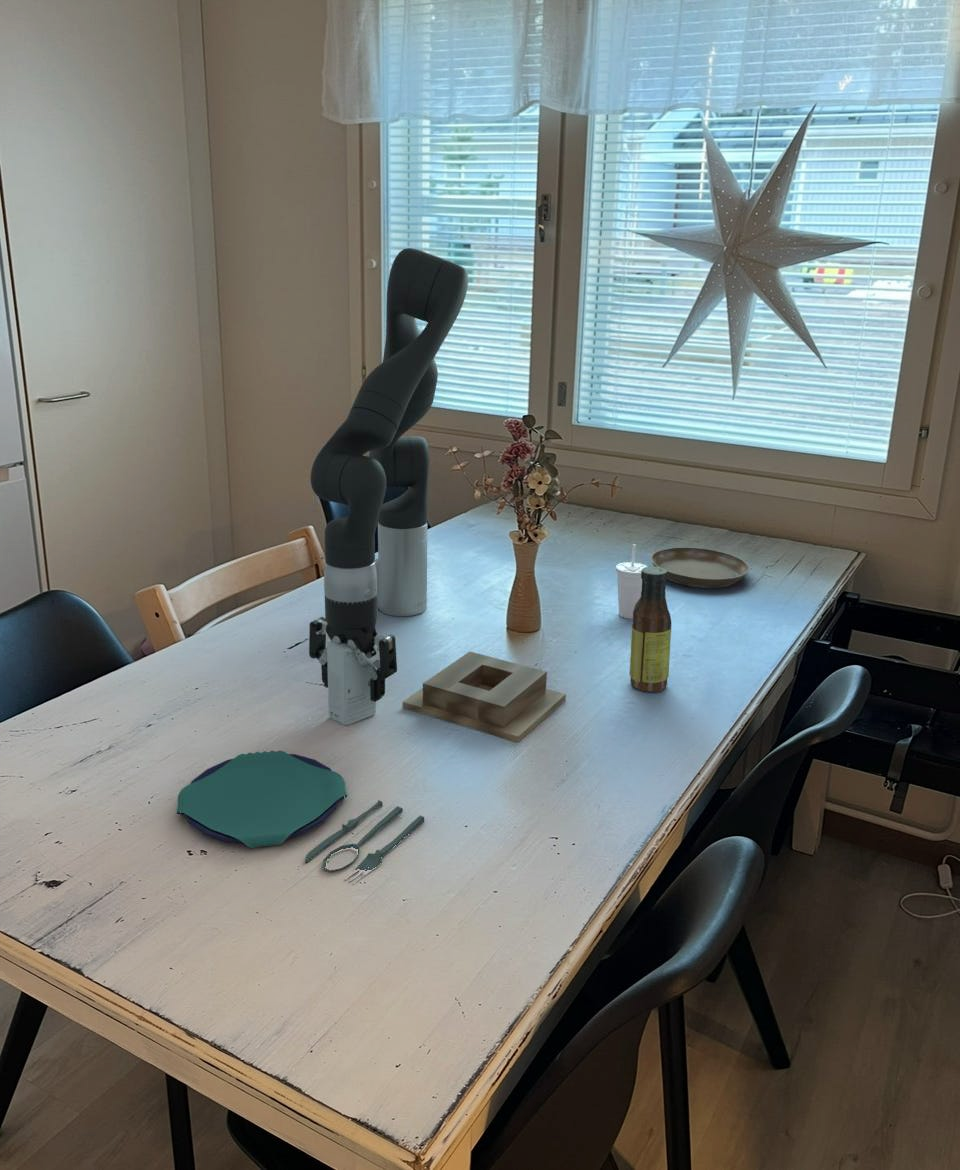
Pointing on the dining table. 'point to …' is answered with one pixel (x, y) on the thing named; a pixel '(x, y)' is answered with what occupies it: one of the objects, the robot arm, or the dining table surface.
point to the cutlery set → (275, 803)
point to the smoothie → (629, 585)
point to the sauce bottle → (651, 633)
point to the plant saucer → (700, 567)
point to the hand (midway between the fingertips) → (353, 692)
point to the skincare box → (348, 685)
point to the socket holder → (488, 696)
